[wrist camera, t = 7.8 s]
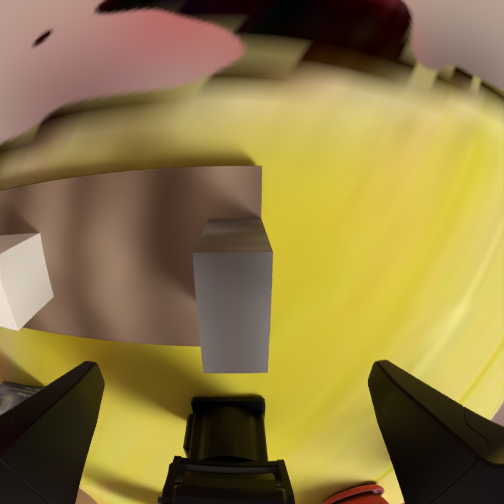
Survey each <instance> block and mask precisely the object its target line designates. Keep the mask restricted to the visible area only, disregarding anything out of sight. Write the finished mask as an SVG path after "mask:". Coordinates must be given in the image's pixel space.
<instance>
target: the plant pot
mask: <svg viewBox="0 0 504 504" xmlns="http://www.w3.org/2000/svg"><path fill="white" fill-rule="evenodd" d="M383 493H384V489H383V488H382V487H381V486H379V485H363V486H358V487H354V488H351V489H348V490H345V491H343V492H341V493H338V494H336V495H334V496H332V497H330V498H329V499H327V500H326V501H325V502H324V504H389V503H388V502H387V501H386V500H385V499H384V498H383V497H381V495H382V494H383Z"/></svg>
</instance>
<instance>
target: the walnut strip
mask: <svg viewBox="0 0 504 504" xmlns="http://www.w3.org/2000/svg"><path fill="white" fill-rule="evenodd" d="M261 188H262V166H197V167H175V168H158V169H145V170H133V171H122V172H112V173H103V174H95V175H87V176H79V177H72V178H66V179H59V180H53V181H47V182H41V183H36V184H30V185H25V186H20V187H15V188H11V189H6V190H1V191H0V236H1V235H14V234H30V233H40V235H41V241H42V247H43V252H44V257H45V262H46V267H47V271H48V275H49V280H50V284H51V288H52V291H53V295H54V297H53V298H52V299H51V300H50V301H49V302H48V303H47V304H45V305H44V306H43V307H42V308H41V309H40V310H39V311H38V312H37V313H36V314H35V315H34V316H33V317H32V318H31V319H30V320H29V321H28V322H27V323H26V324H25V325H24V326H23V327H24V328H29V329H34V330H40V331H45V332H51V333H57V334H63V335H70V336H77V337H84V338H92V339H100V340H109V341H119V342H130V343H142V344H156V345H174V346H201V352H202V361H203V369H204V373H268V354H269V335H270V314H271V290H272V264H273V251H272V248H271V245H270V242H269V240H268V237H267V234H266V231H265V228H264V225H263V223H262V220H261Z"/></svg>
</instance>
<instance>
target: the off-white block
mask: <svg viewBox="0 0 504 504" xmlns="http://www.w3.org/2000/svg"><path fill="white" fill-rule="evenodd" d="M53 297H54V295H53V291H52V288H51V284H50V280H49V275H48V271H47V267H46V262H45V257H44V252H43V247H42V241H41V235H40V233H30V234H14V235H1V236H0V327H4V328H9V329H13V330H17V331H19V330H20V329H21V328H22V327H23V326H24V325H25V324H26V323H27V322H28V321H29V320H30V319H31V318H32V317H33V316H34V315H35V314H36V313H37V312H38V311H39V310H40V309H41V308H42V307H43V306H44V305H45V304H47V303H48V302H49V301H50V300H51V299H52V298H53Z"/></svg>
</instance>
